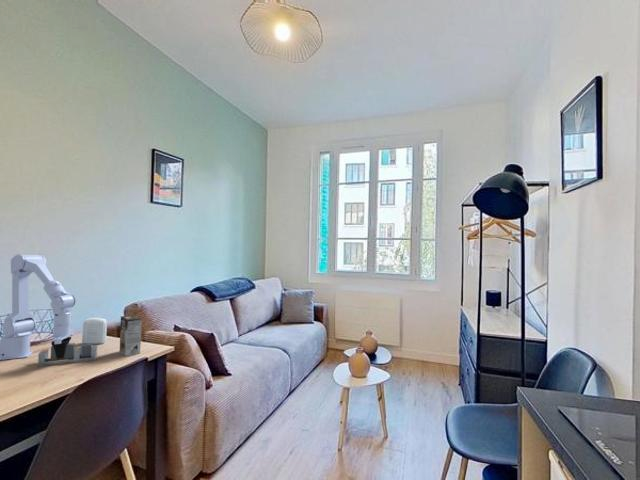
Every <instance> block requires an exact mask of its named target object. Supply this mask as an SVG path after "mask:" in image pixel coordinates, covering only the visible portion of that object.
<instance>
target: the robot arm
mask: <svg viewBox="0 0 640 480" xmlns="http://www.w3.org/2000/svg"><path fill="white" fill-rule="evenodd" d="M47 261H48V260H47V259H46V257H45V256H44V255H43V254H42V253H38V254H20V253H19V254H18V253H17V254H15V255H14V256H13V257H12V258H11V259H10V274H11V299H12V300H11V302H12V303H11V309H12V311H11V313H10V314H9V315H7V316H6V317H5V318H4V321H3V322H4V323H3V325H2V334H3V335H4V336H2V337H1V338H0V361H3V360H12V359H14V360H15V359H23V358H28V357H29V356H31V355H32V353H33V352H34V351H33V350H31V334H34V333H33V332H34V331H36V328H37V321H36V317H35V314H33V313H32V312H30V311H29V308H30V306H29V299H30V298H29V292H30V291H29V288H30V287H29V277H30V276H31V274H33V273H34V274H35V276H37V277H38V278H39V280H40V281H41V282H42V283H43V285H44V286H43V290H44V291H45V293H46V295H47V296H48V297H49V299H50V301H51V302H50V307H51V309H52V314H53V327H52V329H53V330H52V331H53V332H52V337H51V338H52V339H53V341H51V343H50V344H51V346H53V347H54V350H55V353H56V357H57V359H58V358H63V357H64V354H65V349H66V346H67V344H70V342H71V339H72V337H73V336H75V333H73V332H72V333H71V329H72V328H71V327H72V308H73V307H74V306H75V305H76V297H75V295H74V294H72V293H70V292H68V291H66V289H65V288H64V287H63V284H62V283H61V282H60V281H58V280H54V278H53V276H52V274H51V272H50V270H49V269H48V267H47Z"/></svg>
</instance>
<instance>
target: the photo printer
mask: <svg viewBox="0 0 640 480" xmlns="http://www.w3.org/2000/svg"><path fill="white" fill-rule="evenodd" d="M107 327H108V320H107V319H105V318H103V317H102V318H101V317H89V318H87V319H85V320H84V321H83V323H82V339H81V343H82V345H83V344H92V345H99V344H100V345H101V344H103V345H104V344H106V342H107V330H108V329H107Z"/></svg>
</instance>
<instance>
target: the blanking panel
mask: <svg viewBox="0 0 640 480" xmlns="http://www.w3.org/2000/svg"><path fill="white" fill-rule="evenodd" d="M75 345H76V343H74V342H71V343H70V342H69V343H68V344H67V346H66V349H65V354H64V357H63V358H58V359H57V357H56V353H55V350H54V347H53V346H52V345H51V346H50V358H51V361H52V360H61V359H74V350H75V348H76V346H75Z"/></svg>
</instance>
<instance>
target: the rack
mask: <svg viewBox="0 0 640 480" xmlns="http://www.w3.org/2000/svg"><path fill="white" fill-rule="evenodd" d="M97 356H98V344H83V343H82V344H81V346H79V345H78V346H75V350H74V359H61V360H52V361H51V357H49V348H45V349H41V350H40V352H38V357H37V358H38V359H37V361H38V362H37V366H38V367H45V366H53V365H62V364H63V365H64V364H70V363H71V364H72V363H80V362H87V361H89V362H90V361H95V360H96V359H97Z"/></svg>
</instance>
